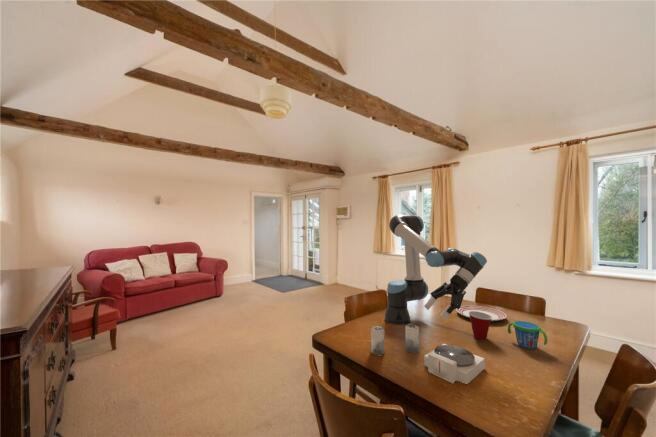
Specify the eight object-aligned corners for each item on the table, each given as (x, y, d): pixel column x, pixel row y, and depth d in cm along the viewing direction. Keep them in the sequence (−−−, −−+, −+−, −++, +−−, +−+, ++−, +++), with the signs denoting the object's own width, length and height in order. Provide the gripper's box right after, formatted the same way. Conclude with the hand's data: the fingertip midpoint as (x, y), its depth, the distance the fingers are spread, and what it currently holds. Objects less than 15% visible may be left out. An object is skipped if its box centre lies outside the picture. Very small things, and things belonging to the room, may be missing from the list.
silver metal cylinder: (403, 349, 123) (402, 326, 123) (410, 346, 126) (410, 323, 127) (414, 354, 118) (414, 330, 118) (421, 350, 122) (421, 326, 122)
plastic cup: (496, 343, 129) (496, 318, 129) (472, 341, 131) (472, 317, 131) (487, 333, 140) (487, 311, 140) (465, 332, 142) (465, 310, 142)
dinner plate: (446, 312, 172) (446, 307, 172) (475, 307, 183) (475, 302, 183) (486, 328, 147) (486, 322, 147) (517, 320, 158) (516, 315, 158)
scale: (419, 368, 107) (419, 351, 107) (444, 352, 120) (443, 337, 120) (462, 388, 94) (462, 369, 94) (484, 368, 107) (484, 351, 107)
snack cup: (503, 341, 131) (503, 321, 131) (515, 337, 135) (515, 317, 135) (539, 355, 117) (539, 333, 117) (552, 350, 121) (551, 328, 121)
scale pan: (427, 354, 109) (427, 352, 109) (445, 343, 119) (445, 341, 119) (464, 370, 98) (464, 367, 98) (480, 357, 107) (480, 354, 107)
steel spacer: (368, 352, 121) (368, 328, 121) (377, 348, 125) (376, 324, 125) (378, 357, 116) (378, 332, 116) (387, 352, 120) (386, 328, 120)
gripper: (486, 291, 115) (455, 328, 112) (450, 279, 139) (425, 309, 136) (474, 279, 114) (444, 316, 111) (441, 269, 138) (415, 299, 136)
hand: (433, 312), depth 124 cm, fingers open, 13 cm apart
